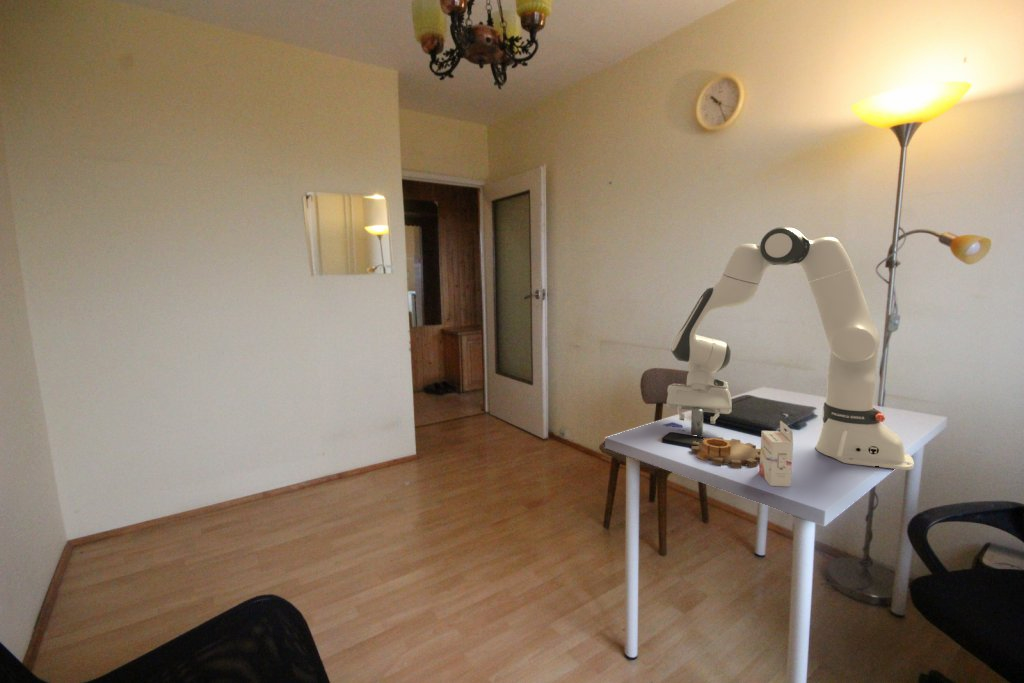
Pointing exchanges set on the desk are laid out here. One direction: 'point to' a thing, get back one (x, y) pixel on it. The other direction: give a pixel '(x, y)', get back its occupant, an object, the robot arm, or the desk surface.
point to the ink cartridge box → (776, 456)
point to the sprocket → (727, 452)
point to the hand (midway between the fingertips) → (697, 421)
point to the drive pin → (697, 421)
